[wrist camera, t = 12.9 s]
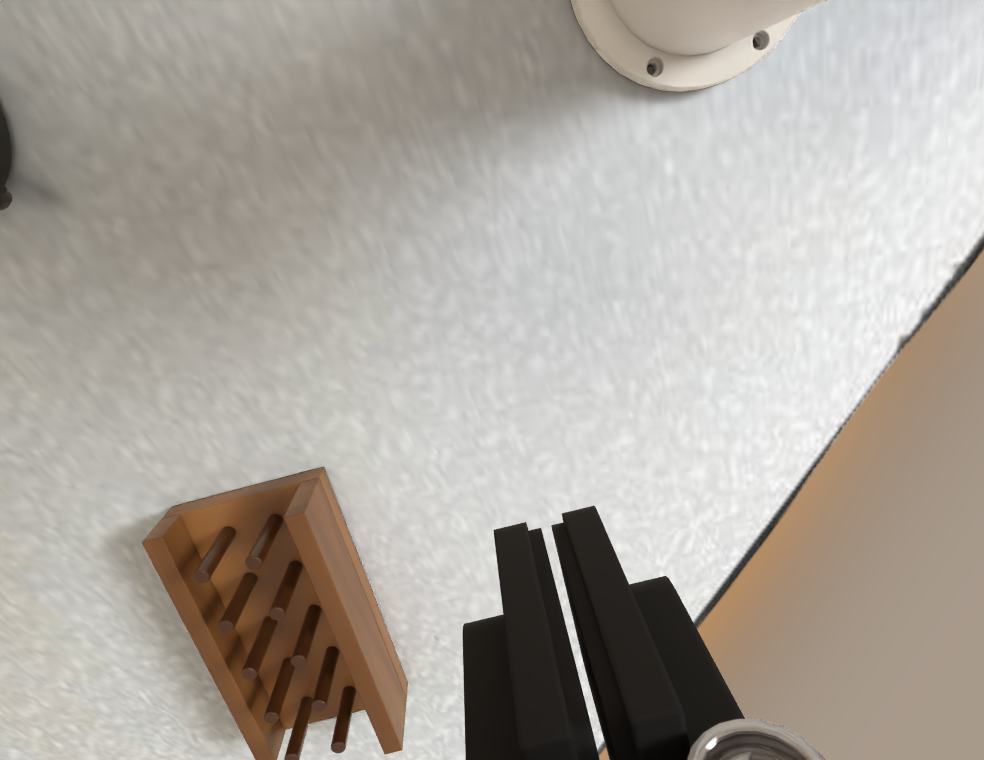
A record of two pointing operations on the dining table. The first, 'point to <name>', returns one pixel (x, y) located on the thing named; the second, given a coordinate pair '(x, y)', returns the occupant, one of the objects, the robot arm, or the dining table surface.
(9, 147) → the mug
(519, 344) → the dining table surface
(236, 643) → the rack
